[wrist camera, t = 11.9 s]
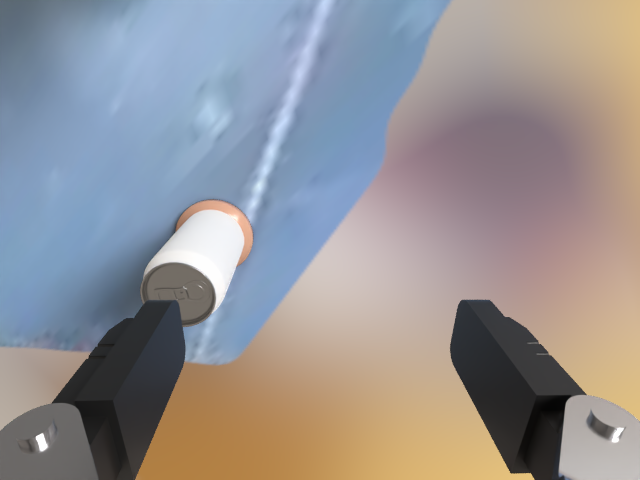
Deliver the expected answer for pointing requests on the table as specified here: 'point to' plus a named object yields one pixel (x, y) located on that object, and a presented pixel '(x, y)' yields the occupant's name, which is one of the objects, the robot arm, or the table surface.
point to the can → (195, 265)
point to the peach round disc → (228, 209)
